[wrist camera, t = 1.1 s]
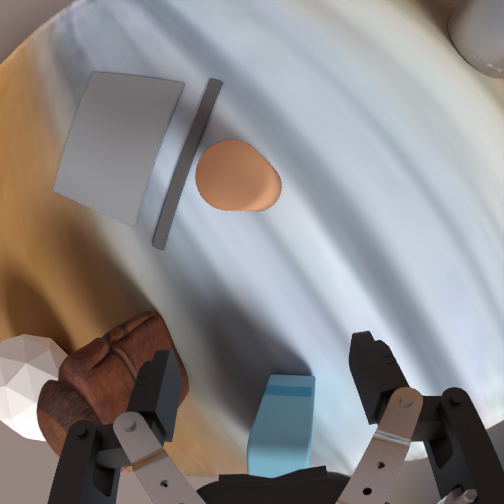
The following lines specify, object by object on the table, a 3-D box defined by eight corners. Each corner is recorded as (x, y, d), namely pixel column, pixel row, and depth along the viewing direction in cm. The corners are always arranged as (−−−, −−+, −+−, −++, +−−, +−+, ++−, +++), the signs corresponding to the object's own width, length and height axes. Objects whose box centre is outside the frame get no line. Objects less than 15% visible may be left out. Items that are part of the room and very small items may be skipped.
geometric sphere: (73, 360, 43) (-7, 369, 33) (72, 307, 35) (-31, 315, 25) (99, 440, 35) (11, 454, 26) (102, 411, 27) (-20, 427, 17)
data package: (271, 368, 30) (245, 443, 19) (315, 370, 29) (310, 448, 18) (271, 450, 32) (250, 525, 20) (308, 452, 31) (299, 530, 19)
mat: (97, 66, 30) (95, 65, 30) (223, 82, 28) (222, 81, 27) (53, 198, 34) (51, 198, 33) (163, 249, 31) (161, 250, 31)
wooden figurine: (120, 315, 33) (-1, 377, 16) (163, 302, 32) (37, 376, 14) (158, 402, 34) (73, 495, 16) (203, 398, 32) (124, 510, 15)
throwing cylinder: (242, 155, 28) (209, 131, 19) (288, 171, 28) (275, 151, 19) (225, 201, 29) (186, 197, 20) (271, 218, 28) (250, 220, 19)
